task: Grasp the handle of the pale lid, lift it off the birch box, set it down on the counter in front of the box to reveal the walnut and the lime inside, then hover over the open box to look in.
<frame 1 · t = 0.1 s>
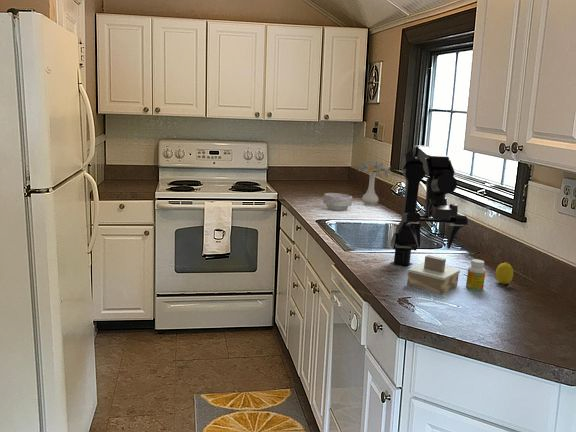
hand: (433, 248, 179), 15 cm above the worktop, tool pointing down, fingers open, 9 cm apart
lemon: (502, 285, 199), on the worktop
supplement bottle: (474, 290, 192), on the worktop
paper bowls: (336, 209, 317), on the worktop
box: (432, 286, 192), on the worktop
lid: (433, 272, 191), point 5 cm above the worktop, touching box
flower vase: (370, 205, 338), on the worktop
lime: (434, 288, 189), point 1 cm above the worktop, touching box
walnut: (429, 282, 195), point 1 cm above the worktop, touching box
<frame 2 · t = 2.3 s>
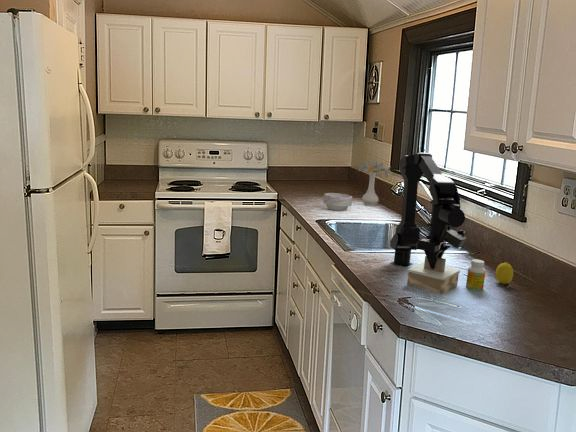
hand: (434, 267, 191), 6 cm above the worktop, tool pointing down, fingers closed on lid, 2 cm apart
lid: (433, 272, 191), point 5 cm above the worktop, touching box, gripper
everything else where it was.
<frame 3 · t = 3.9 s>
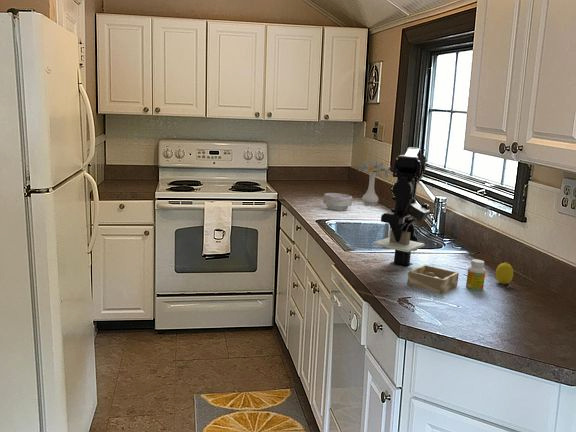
hand: (399, 241, 196), 13 cm above the worktop, tool pointing down, fingers closed on lid, 2 cm apart
lid: (399, 245, 197), point 11 cm above the worktop, touching gripper
everything else where it was.
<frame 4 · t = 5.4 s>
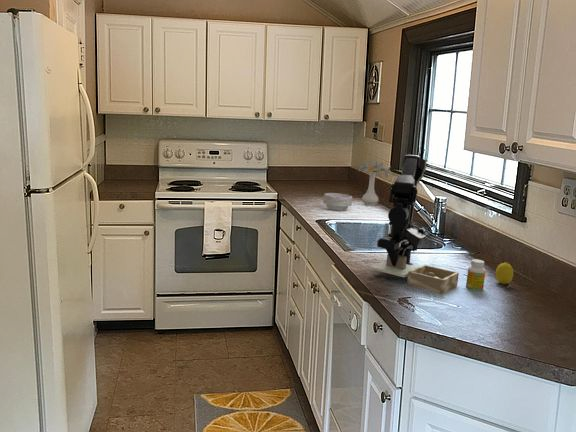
hand: (395, 265, 198), 5 cm above the worktop, tool pointing down, fingers closed on lid, 2 cm apart
lid: (395, 269, 199), point 3 cm above the worktop, touching gripper
everything else where it was.
when the fingers open (3 cm above the worktop, at t = 6.0 s): lid drops 2 cm, on the worktop.
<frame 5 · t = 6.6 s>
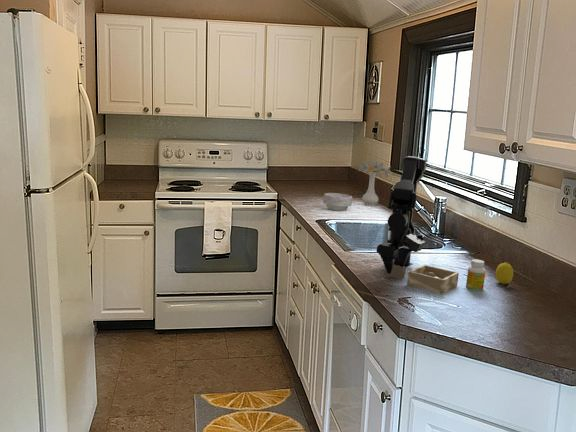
hand: (395, 270, 199), 3 cm above the worktop, tool pointing down, fingers open, 9 cm apart
lid: (394, 280, 199), on the worktop
everything else where it was.
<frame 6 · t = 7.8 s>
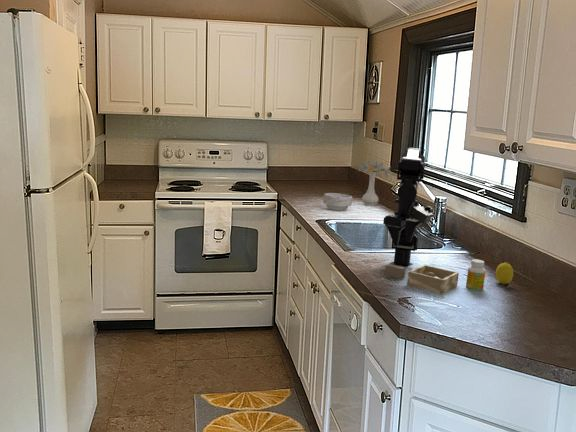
hand: (402, 243, 196), 12 cm above the worktop, tool pointing down, fingers open, 9 cm apart
nothing on the worktop moved.
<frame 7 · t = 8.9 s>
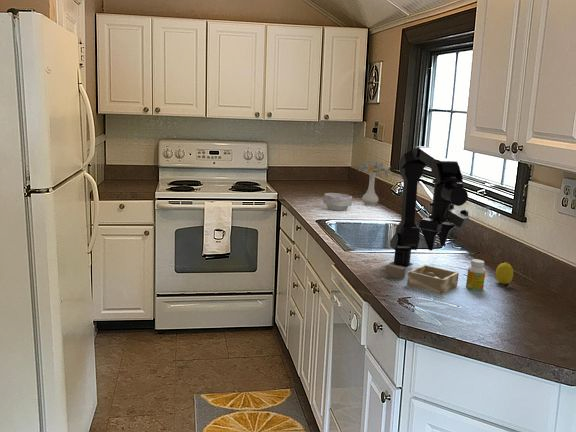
hand: (436, 248, 190), 13 cm above the worktop, tool pointing down, fingers open, 9 cm apart
nothing on the worktop moved.
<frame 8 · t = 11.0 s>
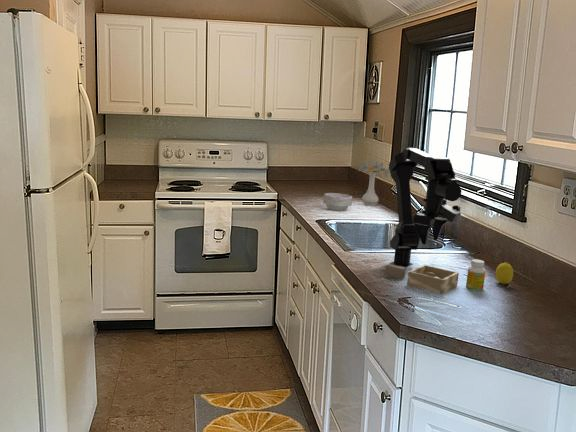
hand: (429, 242, 197), 13 cm above the worktop, tool pointing down, fingers open, 9 cm apart
nothing on the worktop moved.
at the end: lid inside the target area (2.0 cm from its centre), on the worktop; lid touching worktop; lid tilted 0° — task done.
